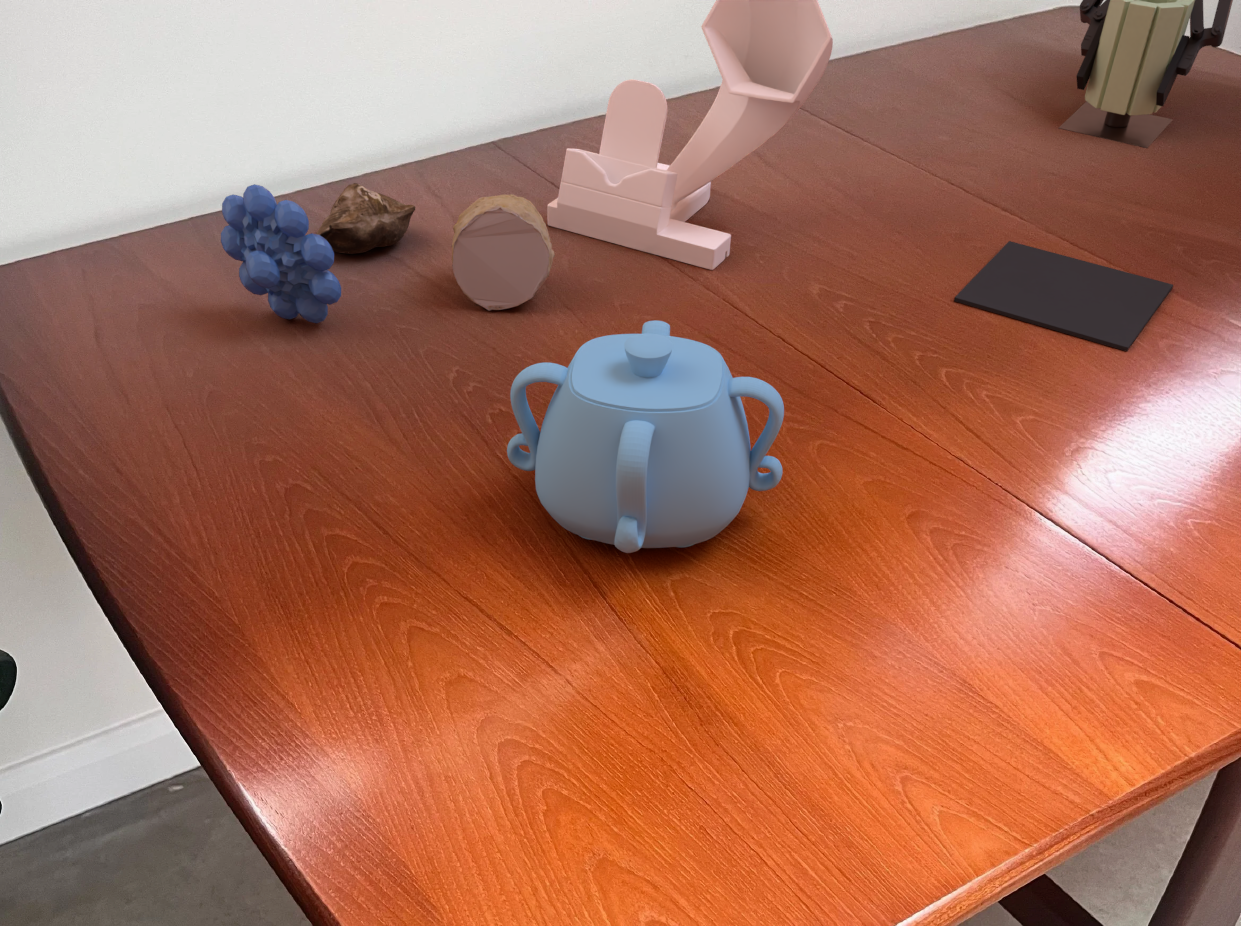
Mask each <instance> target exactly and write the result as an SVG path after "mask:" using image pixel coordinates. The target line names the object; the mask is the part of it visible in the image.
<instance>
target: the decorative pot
mask: <svg viewBox="0 0 1241 926" xmlns="http://www.w3.org/2000/svg"><path fill="white" fill-rule="evenodd" d="M569 362H570V363H569V364H568V366H564V365H561V364H559V363H554V362H547V361H546V362H537V363H534V364H531V365H529V366H527V367H525V368H524V369H522V370H521V371H520V372H519V373H518V374H517V375H516V376H515V378H514V380H513V382H512V384H511V387H510V393H509V398H510V405H511V409H512V412H513V415H514V418H515V420H516V423H517V425H518V427H519V429H520V431H521V432H520V433H517V434H515V435H513V436H512V437H511V438H510V440H509V441H508V444H507V447H506V448H507V449H506V453H507V458H508V460H509V462H510V463H511V465H513V466H514V467H515V468H516V469H519V470H522V471H525V472H532V471H534V474H535V475H534V482H535V493H536V494H537V497H538V499H539V502H540V504H541V505H542V506H543V508H544V509H545V510H546V512H547V513H548V514H549V515H550V516H551V518H552V519H553V520H555V522H557V524H558V525H560V526H561V527H562V528H563V529H565V530H567V531H569V532H570V533H572V534H574V535H578V536H579V537H581V538H582V539H585V540H588V541H589V540H591V541H596V542H600V543H604V544H609V545H614V547H615V548H616V549H617V550H618V551H621V552H623V553H625V554H632V553H635V552H638V551H639V550H640V549H662V548H663V549H664V548H688V547H692V546H694V545H696V544H700V543H703V542H706V541H709V540H710V539H713V538H714V537H716V536H717V535H719V534H720V533H721V532H723V530H725V529H726V528H727V527H728V526H729V525H730V524H731V522H733V520H735V518H736V517H737V516H738V515H739V513H740V511H741V508H742V507H743V505H744V502H745V500H746V498H747V494H748V491H749V489H750V490H752V491H754V492H766V491H770V490H772V489H774V488H776V487H777V485H779V483H780V482H781V480H782V477H783V473H784V472H783V465H782V463H781V462H780V460H779V459H778V458H776V456H772V455H767V454H768V452H769V451H770V449H771V447H772V445H773V444H774V442H775V440H776V438H777V436H778V434H779V433H780V430H781V427H782V425H783V422H784V417H785V406H784V401H783V398H782V396H781V394H780V393H779V392H778V390H776V388H775V387H774V386H773V385H771V384H770V383H768V382H766V381H765V380H762V379H760V378H757V377H752V376H735V377H733V375H732V372H731V371H730V368H729V366H728V364H727V362H726V361H725V359H724V357H723V355H722V354H721V352H719V351H718V350H717V349H715V348H714V347H712V346H710V345H709V344H706V343H703V342H701V341H697V340H694V339H690V338H685V337H679V336H675V335H674V336H673V335H671V325H670V324H669V323H668V322H666V321H663V320H654V319H653V320H648V321H645V322H644V323H643V325H642V328H641V333H619V334H609V335H603V336H598V337H595V338H592V339H590V340H588V341H586V342H585V343H583V344H582V345H581V346H580V347H579V348H578V350H577V351H576V352H575V354H574V355H573V357H572V359H571V361H569ZM535 383H549V384H554V385H557V386H556V389H555V391H554V392H553V395H552V397H551V399H550V402H549V403H548V406H547V408H546V411H545V415H544V418H543V421H542V424H541V428H539V426H538V424H537V422H536V420H535V417H534V415H533V413H532V410H531V408H530V405H529V401H528V397H527V391H526V389H527V387H528V386H529V385H532V384H535ZM742 397H743V398H744V397H745V398H752V399H755V400H757V401H759V402H762V403H763V404H764V405H765V406H767V408H768V412H769V413H768V417H767V421H766V423H765V426H764V428H763V430H762V431H761V433H760V435H759V436H758V438H757V440H756V441H755V443H754V445H753V447H752V448H751V439H750V432H749V431H750V429H749V425H748V420H747V415H746V411H745V408H744V404H743V400H742ZM520 446H525V447H528V450H529V452H527V451H524V450H523V449H521V447H520ZM758 469H768V470H769V471H770V472H766V473H765V472H763V473H762V472H759V471H758Z"/></svg>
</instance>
